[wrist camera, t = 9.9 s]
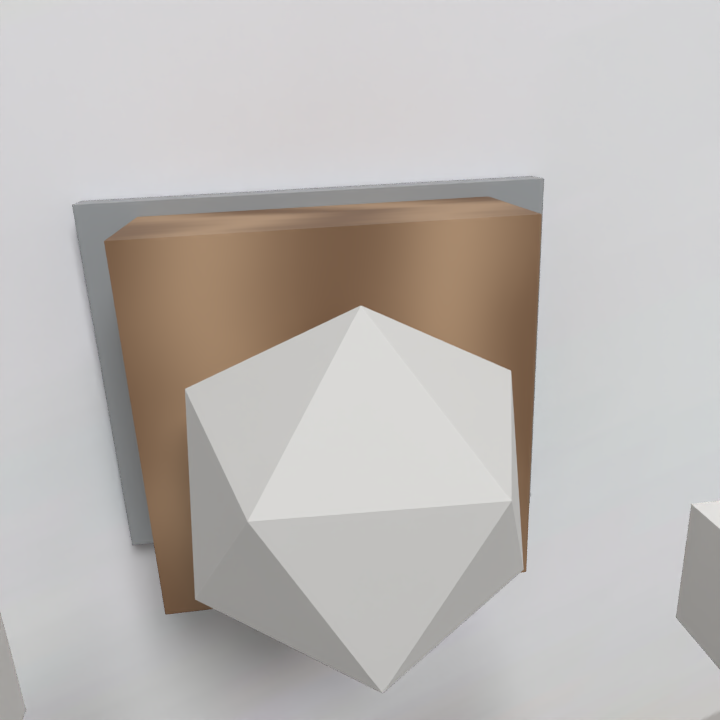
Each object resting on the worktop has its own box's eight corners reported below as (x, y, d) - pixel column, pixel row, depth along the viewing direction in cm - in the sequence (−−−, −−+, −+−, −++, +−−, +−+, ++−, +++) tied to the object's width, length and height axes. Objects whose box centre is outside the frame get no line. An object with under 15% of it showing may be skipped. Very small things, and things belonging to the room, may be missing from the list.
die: (137, 357, 20) (107, 730, 15) (316, 163, 15) (367, 633, 10) (354, 422, 25) (390, 723, 19) (547, 293, 20) (666, 654, 14)
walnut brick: (183, 528, 27) (165, 614, 22) (137, 216, 23) (103, 241, 18) (482, 496, 28) (526, 571, 23) (488, 196, 24) (542, 214, 19)
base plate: (138, 528, 28) (132, 545, 27) (81, 201, 24) (72, 205, 23) (519, 488, 30) (529, 502, 28) (531, 175, 25) (544, 178, 24)
